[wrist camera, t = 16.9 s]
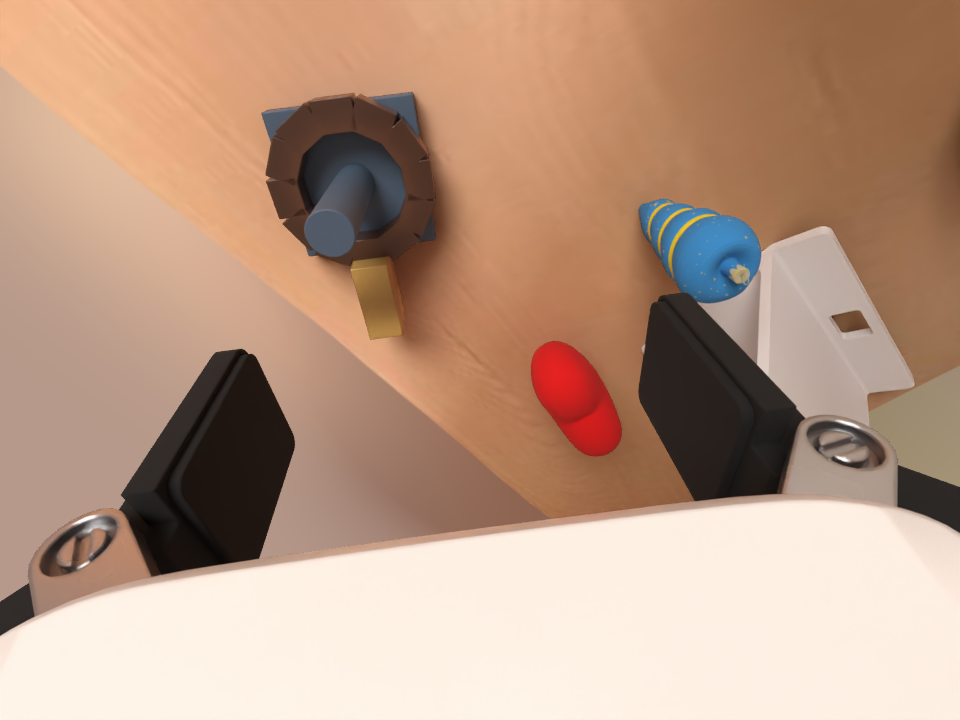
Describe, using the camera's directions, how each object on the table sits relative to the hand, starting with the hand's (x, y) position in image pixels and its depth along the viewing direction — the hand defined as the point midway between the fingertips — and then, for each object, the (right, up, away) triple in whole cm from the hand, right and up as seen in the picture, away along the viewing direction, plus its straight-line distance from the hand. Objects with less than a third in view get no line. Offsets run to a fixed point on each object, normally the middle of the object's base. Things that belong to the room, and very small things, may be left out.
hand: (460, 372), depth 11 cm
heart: (+8, +1, +34) cm, 35 cm away
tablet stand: (+31, 0, +37) cm, 49 cm away
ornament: (+14, +13, +27) cm, 33 cm away
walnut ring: (-8, +11, +23) cm, 27 cm away
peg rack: (-9, +14, +23) cm, 28 cm away
